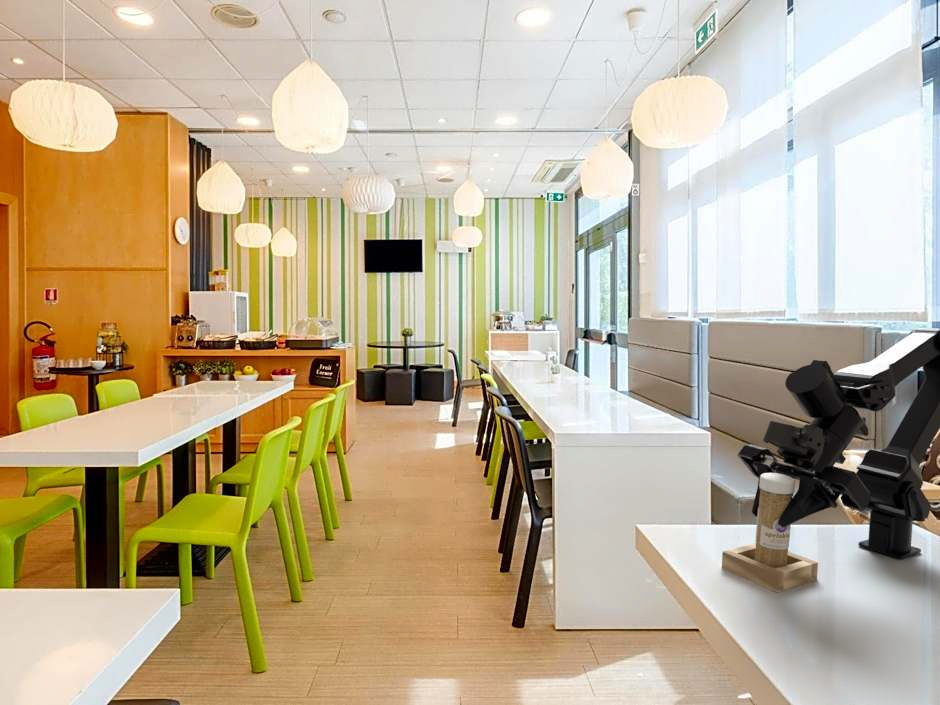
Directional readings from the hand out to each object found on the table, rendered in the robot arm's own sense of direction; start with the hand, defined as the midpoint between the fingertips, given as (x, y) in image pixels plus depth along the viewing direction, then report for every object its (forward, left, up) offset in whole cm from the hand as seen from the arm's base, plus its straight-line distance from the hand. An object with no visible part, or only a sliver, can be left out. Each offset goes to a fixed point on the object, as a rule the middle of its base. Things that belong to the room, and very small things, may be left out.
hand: (766, 519), depth 90 cm
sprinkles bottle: (-1, 0, -7) cm, 7 cm away
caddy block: (-1, 0, -8) cm, 8 cm away
